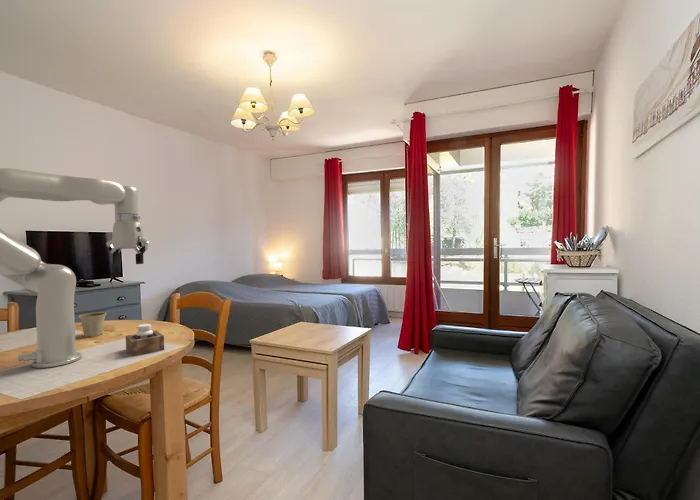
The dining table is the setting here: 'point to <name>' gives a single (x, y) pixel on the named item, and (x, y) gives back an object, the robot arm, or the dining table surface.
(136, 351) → the well
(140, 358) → the dining table surface
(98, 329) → the flower pot
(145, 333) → the pill bottle
